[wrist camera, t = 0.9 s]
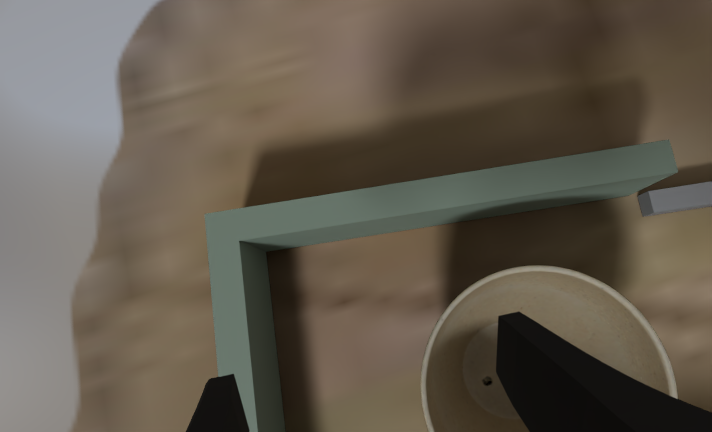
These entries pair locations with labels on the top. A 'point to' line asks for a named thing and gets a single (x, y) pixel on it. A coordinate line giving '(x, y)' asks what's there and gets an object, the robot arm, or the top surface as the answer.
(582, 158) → the cold frame
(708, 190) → the edging
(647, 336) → the flower pot
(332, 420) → the top surface
